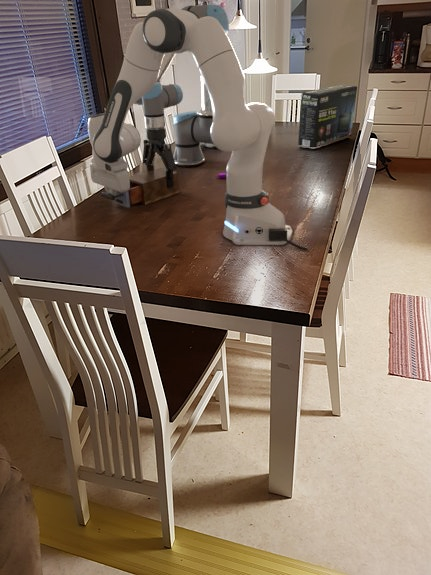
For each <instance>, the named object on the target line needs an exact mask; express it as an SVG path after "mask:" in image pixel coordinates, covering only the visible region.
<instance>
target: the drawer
mask: <svg viewBox="0 0 431 575" xmlns="http://www.w3.org/2000/svg"><path fill="white" fill-rule="evenodd" d="M100 196H101V197H102V198H103V197H104V198H106V199H108V200H111V201H112V203H114V204H117V205H119V206H122V207H125V208H126V209H127V208H131V205H134V204H138V203H139V202H141V201H144V200H143V192H142V185H139V184H136V183H133V182H130V189H129V190H128V191H126V192H122V193H121V192H119V191H117V193H116V196H114V195H111V194H109V193H107V192H106V191H101V193H100ZM115 198H116V199H115Z"/></svg>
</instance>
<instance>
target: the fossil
mask: <svg viewBox="0 0 431 575" xmlns="http://www.w3.org/2000/svg"><path fill="white" fill-rule="evenodd" d="M204 145H205V146H206V147H207V148H216V149H218V148H217V147H216V146H215V145H214V144H209V143H200V147H203V146H204ZM218 150H219V149H218Z"/></svg>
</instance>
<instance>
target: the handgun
mask: <svg viewBox="0 0 431 575" xmlns="http://www.w3.org/2000/svg"><path fill="white" fill-rule="evenodd" d="M217 178H218V179H226V172H225V173H224V172H223V173H221V172H220V173H217Z"/></svg>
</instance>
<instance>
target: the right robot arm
mask: <svg viewBox="0 0 431 575" xmlns="http://www.w3.org/2000/svg"><path fill="white" fill-rule="evenodd" d="M165 53H176V55H177V54H178V55H179V54H185V53H190V54H191V56H192V57H193V60H194V63H195V64H196V66H197V67H196V68H197V69H198V71H199V75H200V74H201V76H202V79H203V81H204V84H205V86H206V88H207V91H208V94H209V97H210V101H211V106H212V114H213V121H212V125H211V129H210V135H211V139H212V141H213V143H214V145H215V146H216V147H217V148H218V150H220V151H222V152H224V153H225V152H226V153H227V152H229V153H231V155H230V157H229V160H228V161H227V164H226V168H225V173H226V178H225V179H226V180H225V183H226V190H225V194H224V205H225V209H226V210H225V218H224V219H225V220H224V226H223V229H222V235H223V237H225V239H228V240H230V241H232V243H233V244H234V245H236V246H283V245H286V244H289V245H292V246H293V247H295V248H297V249H300V250H303V251H308V247H305V246H301V245H299V244H296V243H294V242H293V241H291V239H292V237H293V228H292V227H291V225H288V224H286V219H285V215H284V213H283V212H282V211H280V210H279V209H278V208H277V207H276V206H275V205H272V204H271V203H270V202H269V194H270V192H269V191H267V192H266V191H265V190H263V175H264V174H263V171H264V170H263V169H264V164H265V163H264V162H265V158H266V153H267V148H268V144H269V140H270V137H271V134H272V132H273V130H274V128H275V125H276V116H275V115H276V114H275V113H274V111H273V108H271V107H270V106H269V105H268V104H265V103H261V102H250V103H247V102H246V98H245V92H244V91H245V90H244V88H245V87H244V86H245V83H246V76H245V73H244V71H243V69H242V66H241V64H240V61H239V59H238V56H237V54H236V52H235V49H234V47H233V44H232V43H231V41H230V38H229V37H228V34H226V33H225V31H224V29H223V27H222V26H221V24H220V23H219V21H218V20H217V19H216V18H214V17H210V16H206V17H202V18H201V17H200V16H199V15H198V14H197V13H195V12H192V11H188V10H187V11H185V10H181V8H180V9H179V8H176V7H175V8H174V7H172V8H157V9H155V10H152V11H150V12H149V13H148V14H146V16H145V18H144V20H143V21H140V22H138V23H136V25H134V28H133V30H132V32H131V35H130V37H129V40H128V43H127V46H126V49H125V52H124V57H123V62H122V65H121V68H120V71H119V75H118V77H117V80H116V82H115V84H114V86H113V88H112V90H111V93H110V96H109V98H108V102H107V105H106V108H105V112H100V113H98V114H94V115H91V116H90V117H89V118H88V121H87V130H88V137H89V142H90V144H91V147H92V148H91V149H92V150H91V154H92V158H91V160H90V165H89V171H90V180H91V181H92V182H93V183H94V184H97V185H99V186H102V187H103V188H104V190H105V192H107V193H109V194H111V195H114V196H116V193H117V191H119V192H121V193H122V192H126V191H128V190H129V189H130V181H129V177H130V175H129V171H128V168H129V167H128V166H129V165H128V162H127V161H125V160H124V159H123V157H125V156H128V155H129V154H132V153H133V152H135V151H137V150H138V149H139V148H140V146H141V142H142V141H141V140H142V138H141V134H140V131H139V130H138V128H136V126H134V125H133V124H131V123H126V122H125V121H126V118H127V116H128V112H129V111H130V109H131V108H132V106H133V105H135V104H134V103H135V102H136V101H137V100H139V99H140V98H141V97H143V96H144V95H145V94H147V93H148V92H150V91H151V90H152V88H153V87H154V85H155V83H156V81H157V78H158V75H159V71H160V67H161V63H162V60H163V57H164V55H165ZM216 147H215V148H216ZM217 148H216V149H217ZM115 199H116V198H115Z"/></svg>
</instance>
